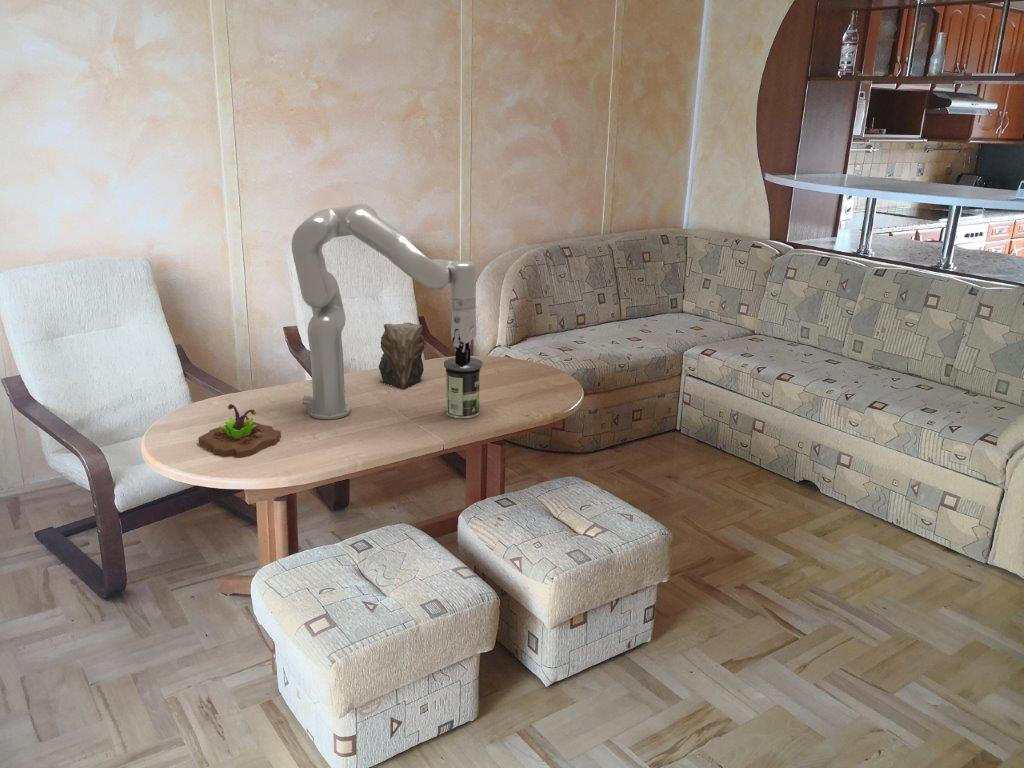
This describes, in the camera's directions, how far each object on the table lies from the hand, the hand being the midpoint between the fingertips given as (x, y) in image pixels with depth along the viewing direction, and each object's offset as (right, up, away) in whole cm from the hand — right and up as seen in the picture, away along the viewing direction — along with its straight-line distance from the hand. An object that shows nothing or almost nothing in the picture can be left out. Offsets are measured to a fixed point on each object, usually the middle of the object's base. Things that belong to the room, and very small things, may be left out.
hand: (462, 362), depth 255 cm
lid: (0, -1, 0) cm, 1 cm away
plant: (-61, -23, -20) cm, 68 cm away
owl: (-22, -7, +30) cm, 38 cm away
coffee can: (0, -16, +5) cm, 16 cm away
